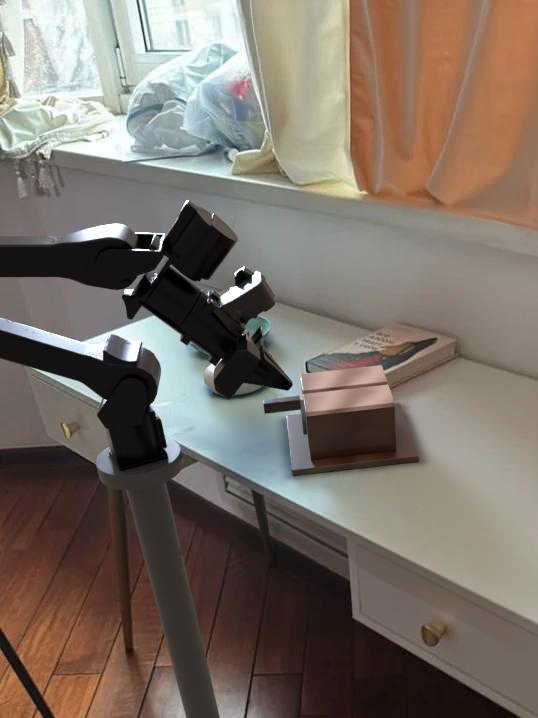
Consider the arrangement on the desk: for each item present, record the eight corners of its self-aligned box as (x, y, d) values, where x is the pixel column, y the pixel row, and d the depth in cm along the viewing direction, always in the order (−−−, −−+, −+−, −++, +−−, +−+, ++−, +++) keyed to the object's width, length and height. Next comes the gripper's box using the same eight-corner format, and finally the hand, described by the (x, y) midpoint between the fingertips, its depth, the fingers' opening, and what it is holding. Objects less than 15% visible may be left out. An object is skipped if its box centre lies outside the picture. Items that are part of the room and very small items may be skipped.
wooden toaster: (292, 475, 106) (285, 421, 102) (287, 420, 119) (280, 370, 115) (418, 461, 107) (417, 407, 102) (400, 407, 119) (398, 357, 115)
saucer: (178, 339, 148) (175, 324, 146) (259, 323, 151) (257, 308, 150) (198, 368, 137) (195, 352, 135) (284, 349, 140) (282, 333, 139)
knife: (268, 440, 111) (263, 403, 108) (268, 436, 112) (263, 399, 109) (389, 427, 112) (387, 390, 108) (387, 422, 113) (385, 385, 110)
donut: (240, 368, 136) (192, 389, 130) (237, 347, 134) (188, 367, 128) (284, 382, 130) (235, 404, 124) (281, 360, 128) (232, 382, 122)
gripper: (226, 279, 90) (338, 367, 97) (228, 233, 105) (325, 312, 112) (167, 359, 95) (278, 437, 102) (177, 304, 109) (273, 376, 116)
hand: (290, 386), depth 108 cm, fingers closed
